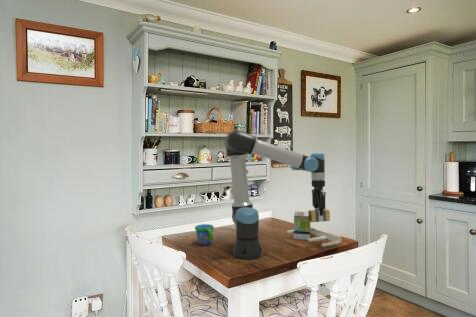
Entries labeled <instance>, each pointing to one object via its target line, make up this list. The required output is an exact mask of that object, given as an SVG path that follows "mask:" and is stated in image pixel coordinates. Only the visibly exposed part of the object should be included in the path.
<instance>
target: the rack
mask: <svg viewBox="0 0 476 317" xmlns="http://www.w3.org/2000/svg"><path fill="white" fill-rule="evenodd" d="M286 233H287V234H292V233H294V229H289V230H286ZM310 233H311V234H310V235H313V234H314V236H315V237H310V238H308V240H307V242H309V243H310V242H311V243H313V242H319V241H325V239H326V240H327V239H328V240H327V241H329V242H324V243H321V245H320V246H321V247H330V246H334V244H335V245H340V244H339V243H341V244H342V236H341V235H338V234H335V233H333V232H332V233H331V232H328V231H325V230H322V229H319V228H316V227H313V226H310ZM316 235H317V236H316ZM319 236H320V237H319Z"/></svg>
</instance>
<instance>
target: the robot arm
mask: <svg viewBox="0 0 476 317" xmlns="http://www.w3.org/2000/svg"><path fill="white" fill-rule="evenodd" d="M224 146H225V151H226V158H228V159H229V163H230V173H231V183H232V192H233V203H232V204H231V212H232V213H231V219H232V222H233V223H234V225H235V243H234V245H233V248H232V256H233V257H234V258H237V259H241V260H242V259H243V260H255V259H259V258H261V257H262V256H263V249H262V246H261V243H260V240H259V239H260V238H259V234H260V233H259V229H260V228H259V225H260V222H259V218H260V214H259V211H258V209H256V208H254V207H253V206H254V204H253V202H252V201H250V194H249V182H248V173H247V172H248V170H247V162H246V158H247V156H248V155H253V154H254V155H256V156H257V155H258V156H260V157H263V158H267V159H269V160H272V161H276V162H278V163H282V164H285V165H288V166H290V170H292V171H304V172H305V171H306V172H310V173H311V175H310V176H311V177H310V179H311V187H312V188H313V189H311V197H312V198H311V199H312V202H311V203H312V207H313V208H314V210H318V221H321V222H324V221H323V210H324V209H326V195H327V193H326V191H324V189H323V188H324V187H325V186H326V181H325V178H326V173H325V170H326V169H325V167H326V164H325V162H326V161H325V154H324V152H312V153H311V154H310V156H309V155H308V156H307V155H305V154H302V153H299V152H296V151H294V150H290V149H286V148H283V147H281V146H278V145H276V144H272V143H269V142H266V141H264V140H261V139H258V137H257V136H256V135H252V134H249V133H247V132H246V131H243V130H240V129H239V130H237V129H236V130H232V131H231V132H229V133H228V134H227V135H226V136H225V139H224Z"/></svg>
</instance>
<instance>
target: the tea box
mask: <svg viewBox="0 0 476 317" xmlns="http://www.w3.org/2000/svg"><path fill="white" fill-rule="evenodd" d="M310 227H311V222H310V221H309V211H300V210H299V211H296V210H295V211H294V215H293V230H294V232H293V239H294V240H303V241H304V240H305V241H308V238H311V234H310Z"/></svg>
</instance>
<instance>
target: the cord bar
mask: <svg viewBox="0 0 476 317" xmlns="http://www.w3.org/2000/svg"><path fill="white" fill-rule="evenodd" d="M307 212H309V221H310V223H319V222H330V220H331V219H330V218H331V214H330V213H331V212H330V210H329V209H327V208H325V209H324V210H323V221H318V210H315V209H310V210H308V211H307Z"/></svg>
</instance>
